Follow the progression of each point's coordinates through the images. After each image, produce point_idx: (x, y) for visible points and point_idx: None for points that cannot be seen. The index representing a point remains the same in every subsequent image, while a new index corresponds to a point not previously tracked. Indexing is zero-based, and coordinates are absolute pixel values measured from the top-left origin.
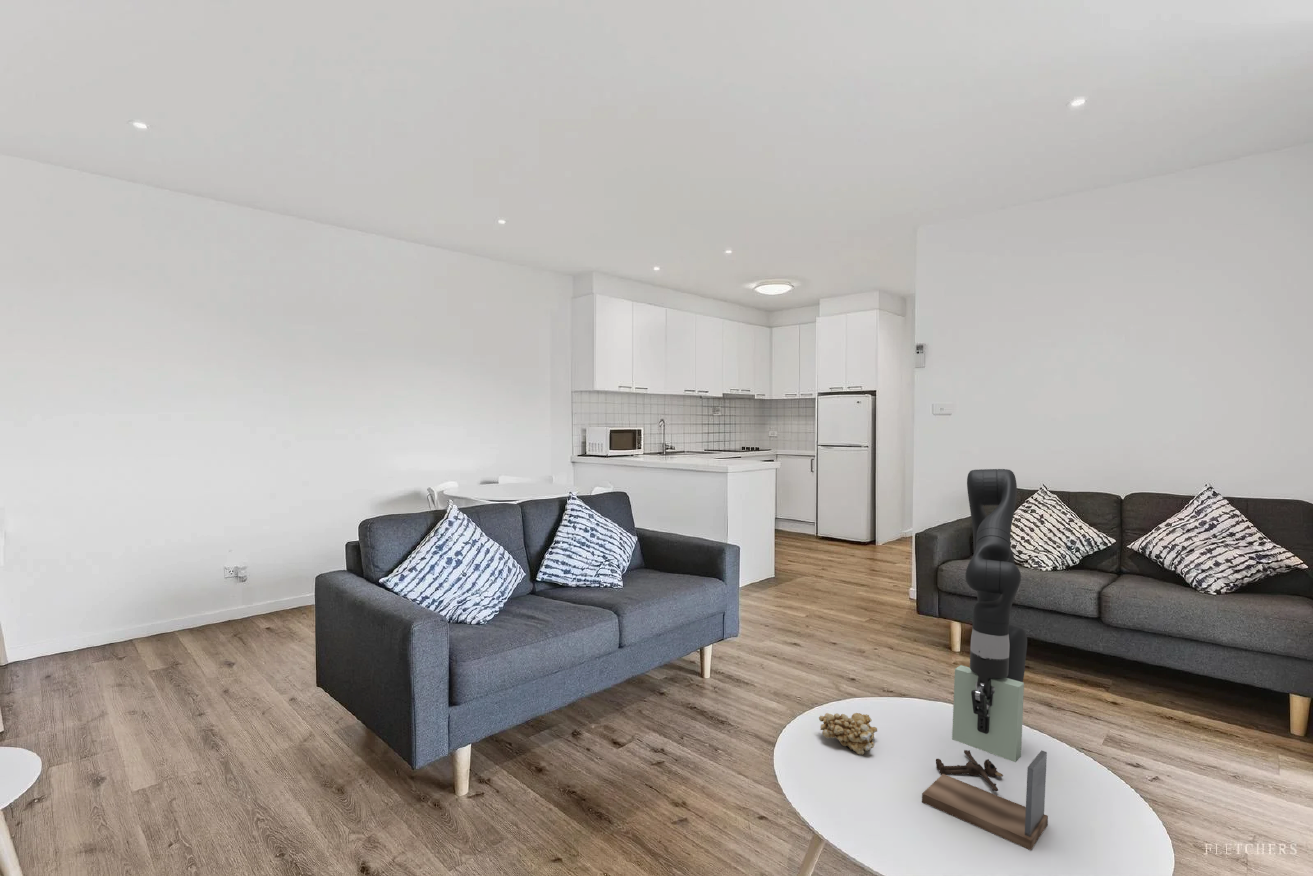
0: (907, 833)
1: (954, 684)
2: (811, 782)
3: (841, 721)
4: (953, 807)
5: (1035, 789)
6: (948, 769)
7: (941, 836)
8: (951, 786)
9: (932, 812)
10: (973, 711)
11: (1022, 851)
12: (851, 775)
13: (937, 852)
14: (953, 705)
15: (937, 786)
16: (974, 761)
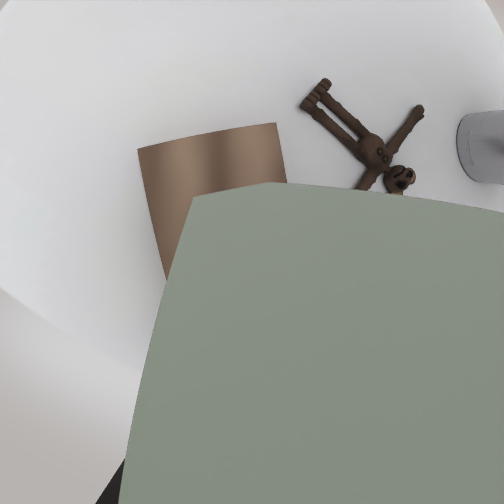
0: (28, 213)
1: (155, 329)
2: (28, 11)
3: None
4: (153, 226)
5: None
6: (331, 109)
7: (74, 254)
8: (236, 169)
9: (127, 189)
10: (120, 467)
11: None
12: (108, 10)
13: (35, 278)
14: (188, 218)
15: (203, 148)
16: (397, 141)
